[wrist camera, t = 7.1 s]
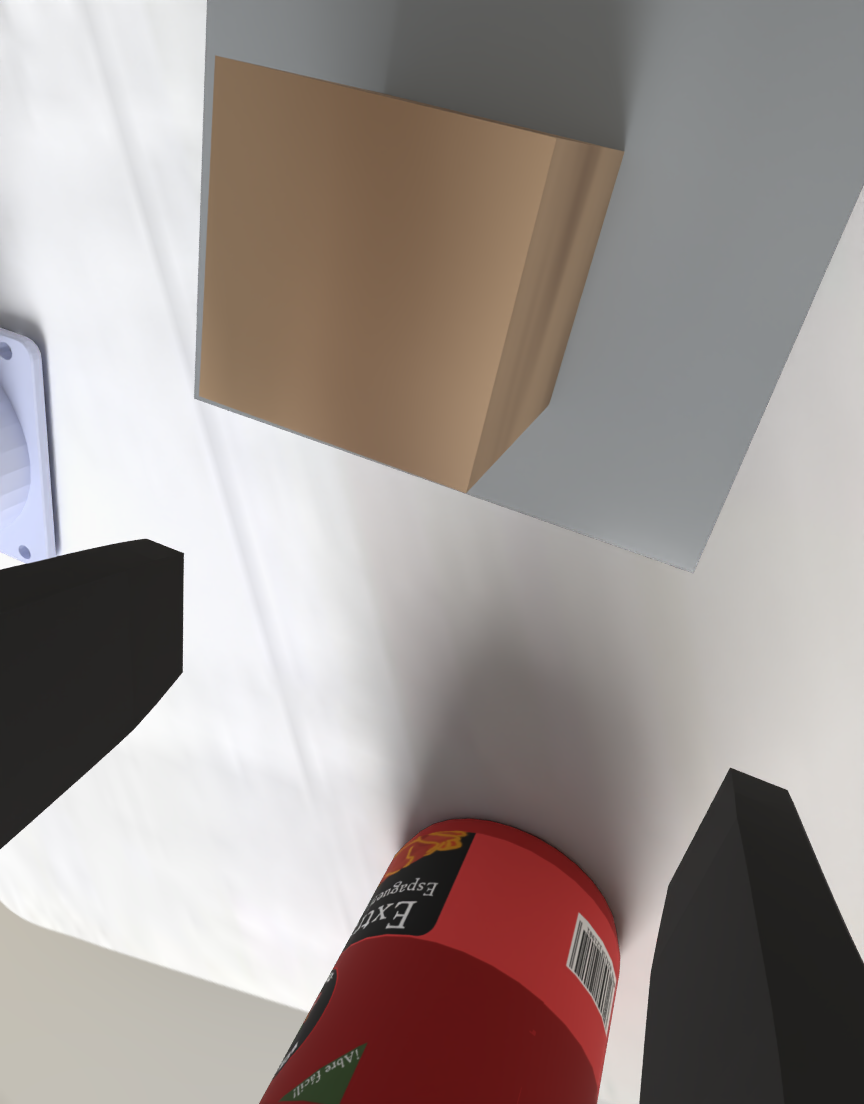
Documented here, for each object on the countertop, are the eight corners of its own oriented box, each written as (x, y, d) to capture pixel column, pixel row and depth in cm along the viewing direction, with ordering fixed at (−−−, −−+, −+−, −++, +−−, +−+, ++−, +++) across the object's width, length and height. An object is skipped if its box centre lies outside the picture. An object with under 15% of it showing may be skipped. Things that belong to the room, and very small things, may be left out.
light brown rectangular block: (347, 339, 16) (199, 395, 12) (383, 93, 14) (214, 55, 9) (549, 404, 15) (465, 493, 11) (624, 151, 13) (556, 137, 8)
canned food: (440, 769, 24) (236, 1146, 14) (673, 908, 22) (613, 1413, 13) (369, 899, 28) (174, 1257, 18) (563, 1022, 27) (458, 1468, 17)
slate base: (253, 375, 20) (194, 398, 18) (288, -107, 15) (212, -153, 13) (701, 525, 17) (693, 573, 15) (928, -4, 12) (962, -42, 10)
